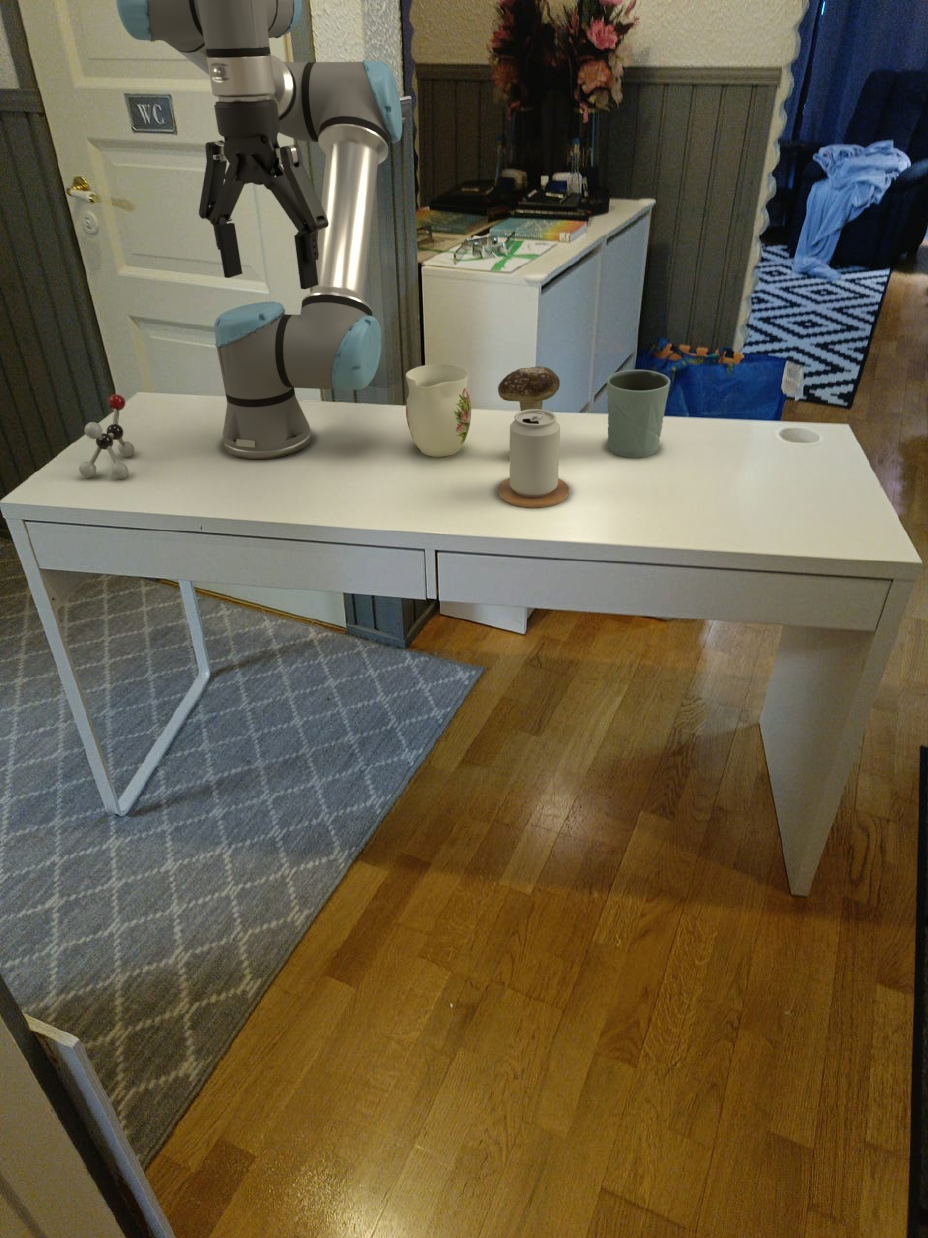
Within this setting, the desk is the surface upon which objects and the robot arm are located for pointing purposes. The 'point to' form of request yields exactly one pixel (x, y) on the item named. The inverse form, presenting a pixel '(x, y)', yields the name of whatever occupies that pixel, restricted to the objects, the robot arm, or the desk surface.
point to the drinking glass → (636, 411)
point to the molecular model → (108, 442)
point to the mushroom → (529, 386)
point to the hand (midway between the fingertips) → (270, 281)
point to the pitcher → (438, 408)
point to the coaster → (533, 502)
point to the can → (534, 452)
